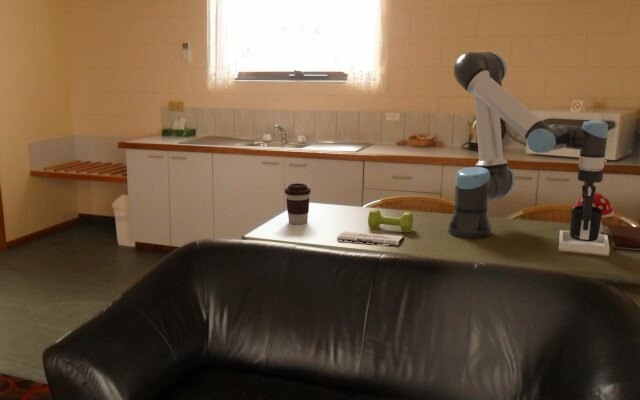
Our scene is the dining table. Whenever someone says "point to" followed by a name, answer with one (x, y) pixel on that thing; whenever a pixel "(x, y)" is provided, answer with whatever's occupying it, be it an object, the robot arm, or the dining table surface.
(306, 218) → the coffee cup
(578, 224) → the pen holder
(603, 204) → the decorative mushroom
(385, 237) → the newspaper
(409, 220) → the dumbbell
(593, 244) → the tray
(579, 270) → the dining table surface
